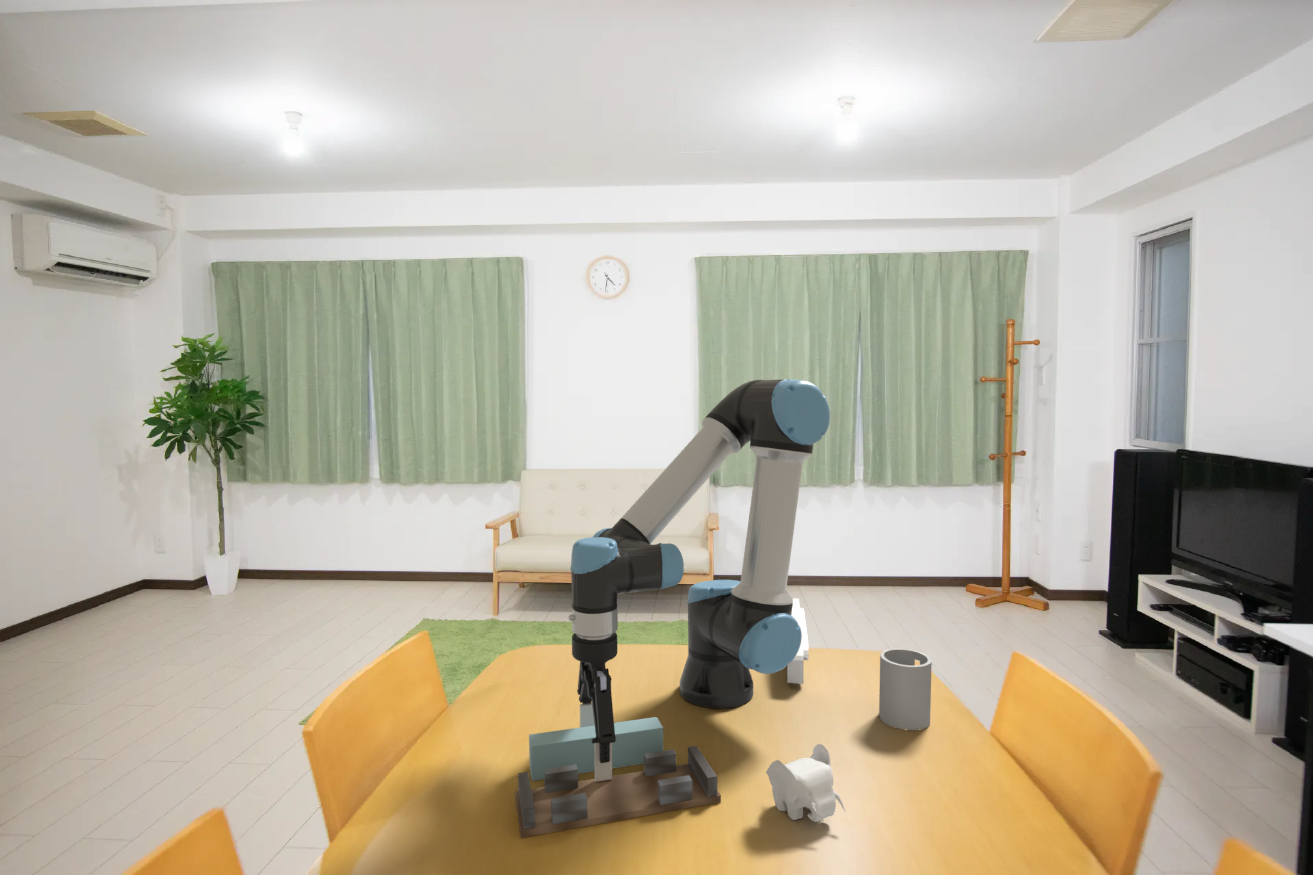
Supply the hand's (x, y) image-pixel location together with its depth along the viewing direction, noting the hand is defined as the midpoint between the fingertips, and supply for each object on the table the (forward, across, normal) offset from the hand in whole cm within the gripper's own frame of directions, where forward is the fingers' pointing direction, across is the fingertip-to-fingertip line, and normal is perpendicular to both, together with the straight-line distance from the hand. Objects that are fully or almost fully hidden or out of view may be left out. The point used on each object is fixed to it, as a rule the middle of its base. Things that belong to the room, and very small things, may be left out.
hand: (595, 758), depth 117 cm
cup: (+1, +1, +59) cm, 59 cm away
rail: (+1, 0, 0) cm, 2 cm away
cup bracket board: (+1, +11, +1) cm, 11 cm away
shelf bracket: (+1, -28, +52) cm, 59 cm away
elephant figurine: (+1, +22, +27) cm, 35 cm away
